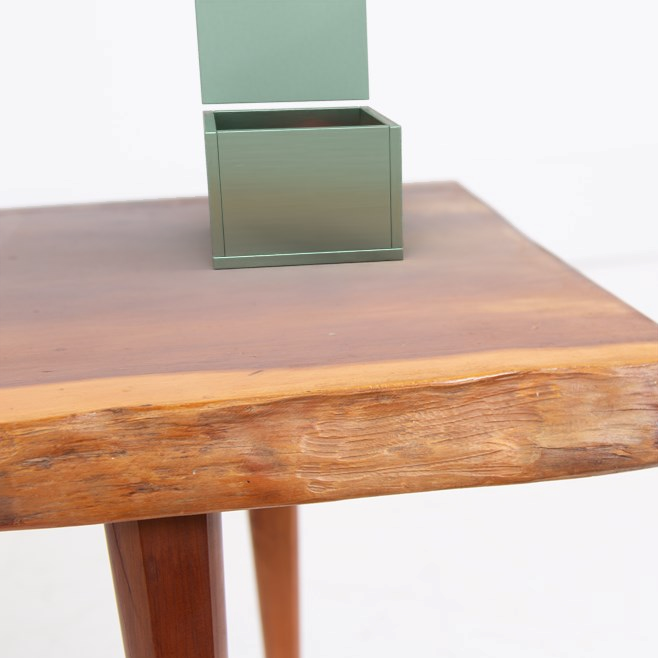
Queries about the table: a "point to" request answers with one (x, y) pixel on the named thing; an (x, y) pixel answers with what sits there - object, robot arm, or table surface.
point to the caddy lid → (282, 50)
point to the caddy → (303, 186)
